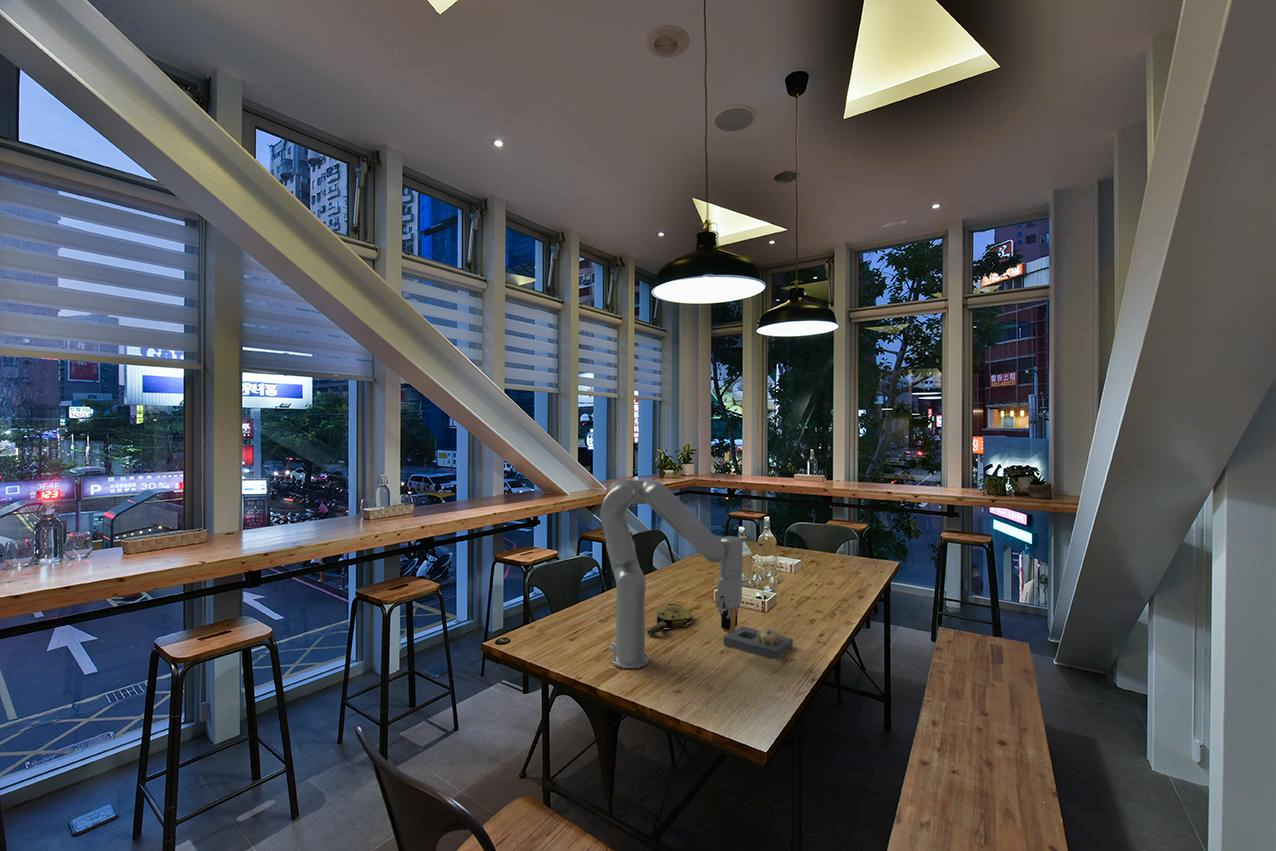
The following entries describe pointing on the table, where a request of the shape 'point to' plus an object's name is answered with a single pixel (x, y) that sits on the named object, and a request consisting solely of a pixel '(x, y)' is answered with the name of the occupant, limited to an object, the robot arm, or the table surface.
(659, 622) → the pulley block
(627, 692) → the table surface
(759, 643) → the housing
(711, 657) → the table surface
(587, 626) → the table surface
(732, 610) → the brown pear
